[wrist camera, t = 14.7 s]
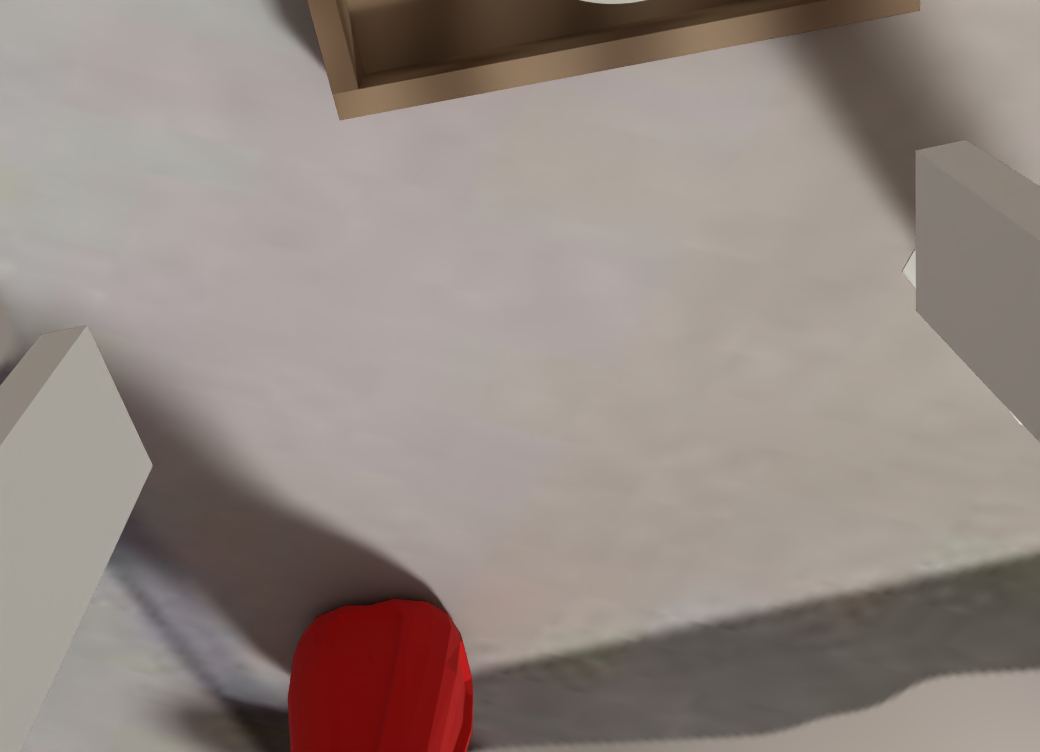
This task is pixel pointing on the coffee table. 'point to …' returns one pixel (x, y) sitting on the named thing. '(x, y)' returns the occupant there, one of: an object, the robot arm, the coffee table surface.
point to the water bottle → (381, 682)
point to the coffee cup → (612, 1)
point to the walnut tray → (537, 40)
